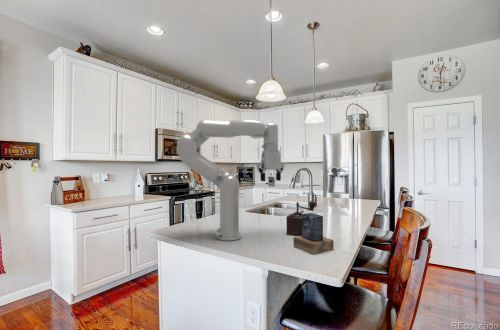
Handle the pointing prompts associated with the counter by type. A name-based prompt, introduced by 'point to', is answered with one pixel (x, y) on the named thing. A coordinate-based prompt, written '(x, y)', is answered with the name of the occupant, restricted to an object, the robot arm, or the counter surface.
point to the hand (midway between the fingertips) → (270, 180)
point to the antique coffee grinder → (297, 220)
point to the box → (312, 227)
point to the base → (313, 245)
